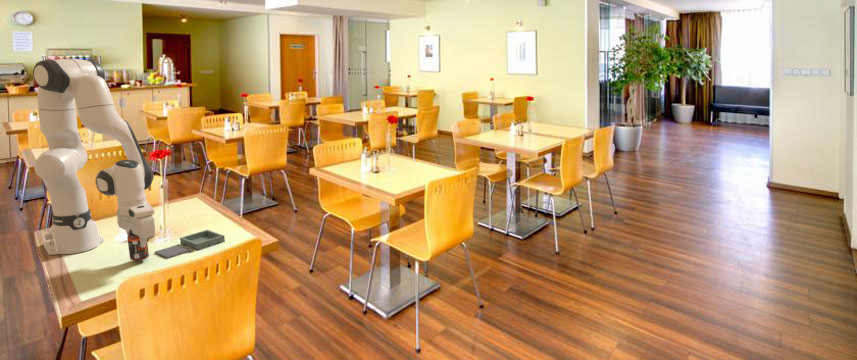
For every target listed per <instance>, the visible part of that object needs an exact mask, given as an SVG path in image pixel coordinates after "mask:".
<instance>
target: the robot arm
mask: <svg viewBox="0 0 857 360" xmlns="http://www.w3.org/2000/svg"><path fill="white" fill-rule="evenodd" d="M105 73H106V72H105V70H104V67H103V66H102V65H101V63H99V62H98V61H95V60H91V59H87V58H86V59H80V58H58V59H51V58H48V59H43V60H40V61H38V62H37V63H35V65H34V67H33V70H32V76H33V79H34V82H35V83H36V85H37V86H38V87H37V108H38V109H37V110H38V111H37V112H38V118H39V119H38V120H39V129H40V132H41V133H42V134H43V135H44V137H45V140H46V142H47V144H48V146H47V147H48V150H45V151H43V152H42V153H41V154H40V155H38V157H37V159H36V160H35V161H34V165H33V169H34V171H35V174H36V175H37V176H38V177H39V178H40V179H42V182H43V183H44V186H45V187H46V189H47V192H48V195H49V199H50V200H49V201H50V203H51V209H52V215H51V216H52V217H51V220H52V225H51V226H50V228H49V229H48V231H47V233H45V234H44V239H45V240H46V241H44V242H42V245H43V248H44V249H45V251H46V253H47V254H48V255H49V256H53V255H54V256H55V255H72V254H79V253H83V252H87V251H89V250H92V249H95V248H97V247H98V246H99V245H100V244H101V243H103V242H105V238H104V237H102V236H100V233H99V229H98V223H97V222H96V221H94V220H93V219H92V212H91V210H90V208H89V204H88V199H87V191H86V189H85V187H83V185H82V183H81V182H80V179H79V177H78V171H80V170H82V169H83V168H84V166H85V164H86V163H87V162H88V152H87V151H86V149H85V148H84V146H83V143H82V140H81V137H80V136H81V135H80V133H79V132H80V131H79V129H78V128H79V127H78V120H77V118H78V117H79V120H80V122H81V124H82V126H83V127H85V128H86V129H87V130H89V131H90V132H93V133H95V134H99V135H103V136H108V137H111V138H114V139H115V140H116V141H118V142H119V143H120V145H121V147H122V149H123V152H124V154H125V155H126V158H127V159H121V160H118V161H116V162H115V163H114V164H113V166H111V167H107V168H105V169H101V170H99V172H98V173H97V175H96V177H95V186H96V189H97V191H98V192H99V193H101V194H103V195H104V196H106V197H107V196H108V197H109V196H116V197H117V208H118V209H117V210H116V217H117V218H116V220H117V221H116V222H117V225H118V228H119V229H122V230H124V231H125V232H126V235H127V236H128V235H129V234H130V230H129V229H131V230H132V233H133V234H135V235H137V236H139V238H140V242H139V246H140V247H142V248H143V247H146V241H147V242H148V239H150V238H154V237H155V234H156V225H155V218H154V214H155V209H154V207H153V206H152V205H150V203H149V201H148V200H147V194H146V191H145V190H147V189H148V190H149V188H150V186H152V185H151V184H152V183H153V181H154V177H155V176H154V171H153V170H152V168H151V166H150V165H149V164H148V162H147V159H146V158H145V156H144V153H143V151H142V149H141V146H140V144H139V142H138V141H139V140H137V136H136V135H135V133H134V131H133V129H132V127H131V124H130V123H129V122H128V121H127V120H125V119H123V118H122V117H121V116H120V114H119V112H118V111H117V110H116V106H115V102H114V99H113V96H112V94H111V91H110V88H109V85H107V82H106V80H105V79H106V74H105ZM76 109H77V110H76ZM77 113H78V117H77Z"/></svg>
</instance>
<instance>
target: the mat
mask: <svg viewBox="0 0 857 360" xmlns="http://www.w3.org/2000/svg"><path fill="white" fill-rule="evenodd" d="M190 252H192V248H189V247H187V246H184V245H183V246H182V244H175V245H171V246H168V247H165V248H162V249H158V250H155V251H154V254H156V255H158V256H161V257H163V258H165V259H167V260H169V259H171V258H173V257H178V256H180V255H183V254H186V253H187V254H188V253H190Z"/></svg>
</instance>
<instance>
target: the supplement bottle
mask: <svg viewBox="0 0 857 360" xmlns="http://www.w3.org/2000/svg"><path fill="white" fill-rule="evenodd" d="M129 230H130V234H129V235H127V244H128V245H127V246H128V253H129V259H130V260H131V261H135V262H137V261H138V262H139V261H143V260H146V259H148V258H149V256H150V253H149V245H148V240H147V241H146V247H143V248H142V247H140V246H139V242H140V238H139V236H137V235H135V234H133V233H132V230H131V229H129Z"/></svg>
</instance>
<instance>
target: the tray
mask: <svg viewBox="0 0 857 360" xmlns="http://www.w3.org/2000/svg"><path fill="white" fill-rule="evenodd" d="M225 239H226V238H225V235H223V234H221V233H218V232H215V231H213V230H209V229H206V230H202V231H199V232H195V233H191V234H189V235H185V236H180V237H179V240H180V245H181V246H182V245H183V246H184V247H186V248H189V249H191V250H192V249H193V250H195V251H200V250H203V249H207V248H209V247H212V246H216V245H219V244H221V243H224V242H225V241H226V240H225Z"/></svg>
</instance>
